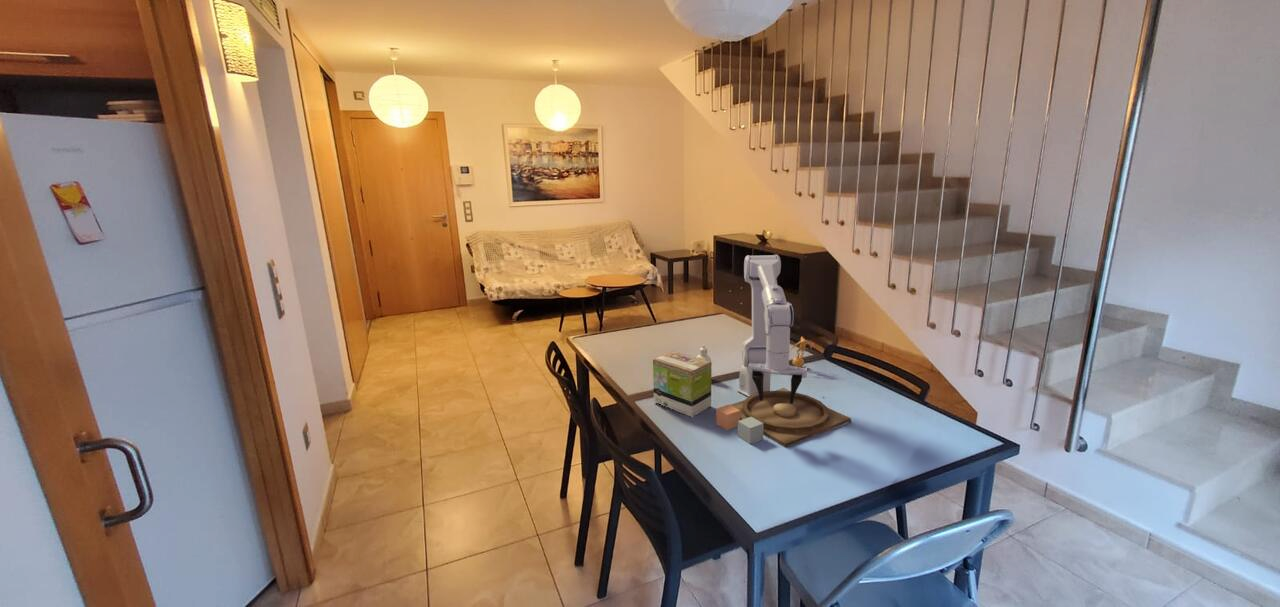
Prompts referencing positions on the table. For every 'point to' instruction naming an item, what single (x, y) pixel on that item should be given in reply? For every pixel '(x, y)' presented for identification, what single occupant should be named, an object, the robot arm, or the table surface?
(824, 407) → the groove tray
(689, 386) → the tea box
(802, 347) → the figurine
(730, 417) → the orange cube
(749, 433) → the grey cube
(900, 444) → the table surface
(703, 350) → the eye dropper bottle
